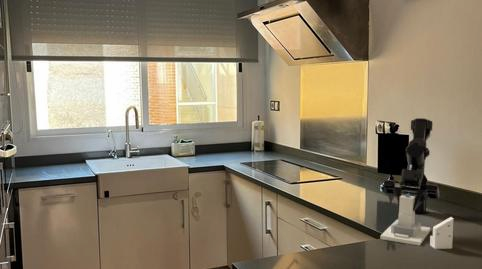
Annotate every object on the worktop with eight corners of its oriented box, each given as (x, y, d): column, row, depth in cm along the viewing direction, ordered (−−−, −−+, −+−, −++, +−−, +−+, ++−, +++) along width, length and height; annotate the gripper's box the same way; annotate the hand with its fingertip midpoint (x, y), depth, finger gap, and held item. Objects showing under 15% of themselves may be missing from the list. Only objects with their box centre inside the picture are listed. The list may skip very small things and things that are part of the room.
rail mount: (393, 225, 182) (394, 214, 181) (430, 230, 175) (430, 220, 175) (380, 238, 167) (380, 227, 166) (419, 245, 160) (420, 233, 159)
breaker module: (401, 224, 174) (402, 192, 173) (414, 226, 172) (415, 193, 171) (398, 228, 170) (399, 195, 169) (411, 230, 168) (412, 196, 166)
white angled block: (465, 240, 157) (453, 218, 156) (438, 256, 157) (426, 233, 156) (460, 237, 161) (448, 215, 160) (433, 252, 161) (421, 230, 160)
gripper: (385, 158, 177) (375, 193, 169) (439, 162, 167) (431, 200, 159) (390, 175, 184) (381, 210, 177) (442, 180, 175) (435, 217, 167)
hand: (406, 209), depth 170 cm, fingers closed on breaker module, 4 cm apart
